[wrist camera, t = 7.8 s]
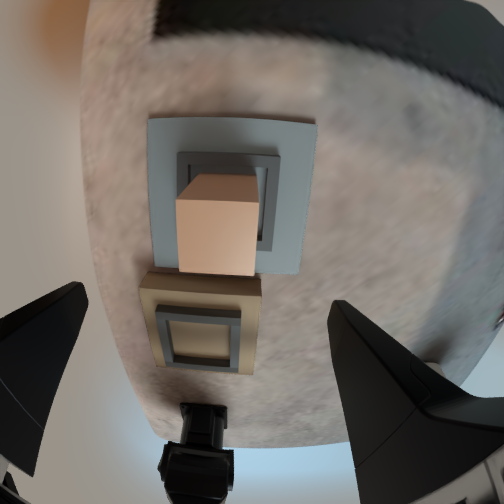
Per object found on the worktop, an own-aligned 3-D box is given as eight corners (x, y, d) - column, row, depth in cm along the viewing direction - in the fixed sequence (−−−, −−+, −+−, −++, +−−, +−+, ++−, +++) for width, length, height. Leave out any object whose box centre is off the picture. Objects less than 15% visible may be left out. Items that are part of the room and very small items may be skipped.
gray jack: (296, 271, 23) (299, 281, 22) (156, 262, 23) (151, 272, 22) (316, 124, 18) (321, 125, 17) (150, 118, 18) (142, 119, 16)
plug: (253, 226, 21) (254, 275, 15) (200, 223, 21) (179, 271, 15) (256, 174, 19) (259, 202, 13) (200, 172, 19) (175, 199, 13)
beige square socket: (253, 357, 28) (253, 382, 25) (161, 349, 28) (154, 373, 25) (260, 279, 24) (262, 304, 21) (147, 272, 24) (134, 294, 20)
